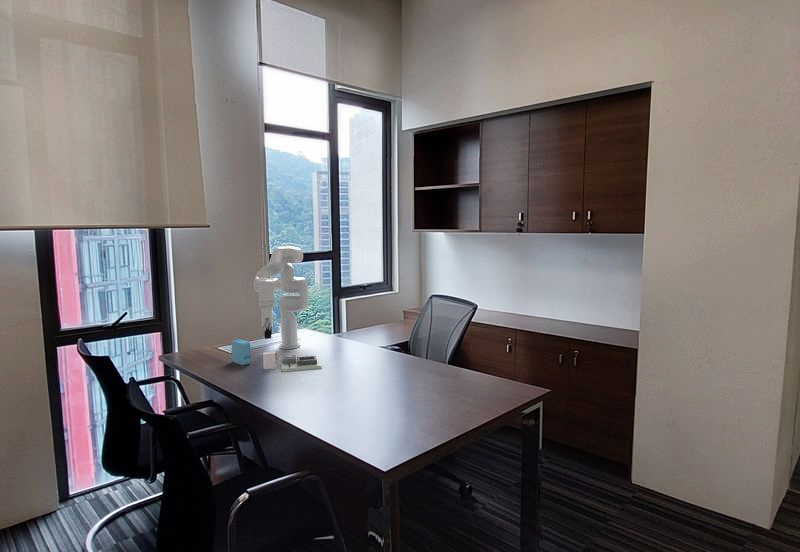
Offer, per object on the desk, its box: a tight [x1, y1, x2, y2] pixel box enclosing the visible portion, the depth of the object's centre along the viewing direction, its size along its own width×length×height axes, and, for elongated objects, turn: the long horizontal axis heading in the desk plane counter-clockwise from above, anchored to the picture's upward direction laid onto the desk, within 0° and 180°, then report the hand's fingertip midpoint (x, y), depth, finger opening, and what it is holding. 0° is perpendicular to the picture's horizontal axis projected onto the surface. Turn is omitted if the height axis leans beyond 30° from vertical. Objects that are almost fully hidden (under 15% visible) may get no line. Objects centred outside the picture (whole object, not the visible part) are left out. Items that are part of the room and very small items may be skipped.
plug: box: [262, 351, 278, 370], centre depth 249 cm, size 4×7×8 cm, turn 104°
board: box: [281, 354, 323, 373], centre depth 252 cm, size 16×20×5 cm
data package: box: [230, 338, 252, 366], centre depth 259 cm, size 12×4×12 cm, turn 48°
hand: (268, 336), depth 247 cm, fingers open, 9 cm apart
